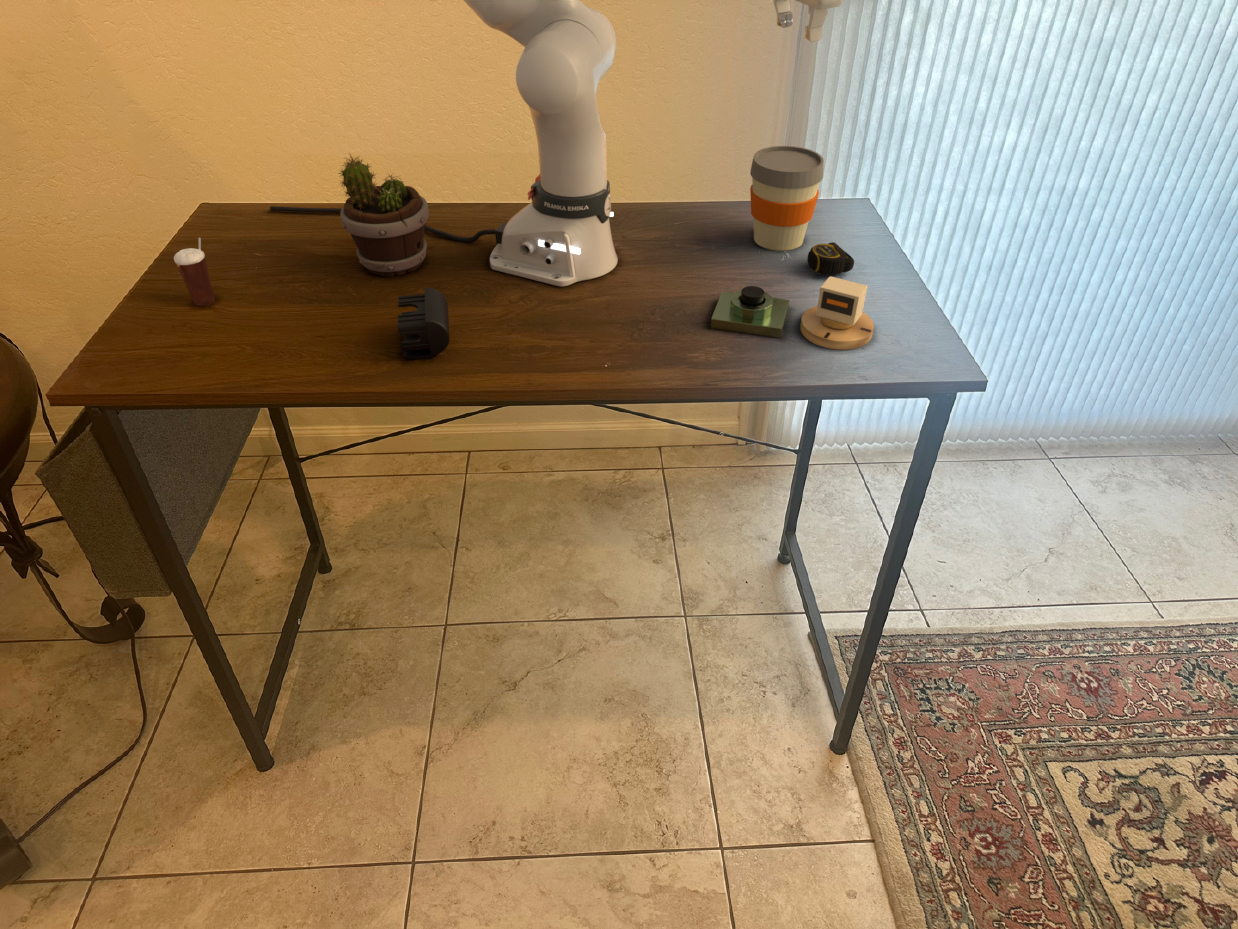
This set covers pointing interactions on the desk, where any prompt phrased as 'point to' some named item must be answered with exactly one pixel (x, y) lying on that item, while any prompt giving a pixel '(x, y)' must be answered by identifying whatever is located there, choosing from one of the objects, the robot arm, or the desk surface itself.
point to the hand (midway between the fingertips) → (798, 33)
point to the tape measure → (829, 259)
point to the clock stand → (836, 332)
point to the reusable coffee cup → (784, 194)
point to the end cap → (424, 324)
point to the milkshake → (195, 275)
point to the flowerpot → (384, 221)
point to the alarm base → (750, 315)
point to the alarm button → (752, 296)
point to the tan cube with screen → (841, 302)
